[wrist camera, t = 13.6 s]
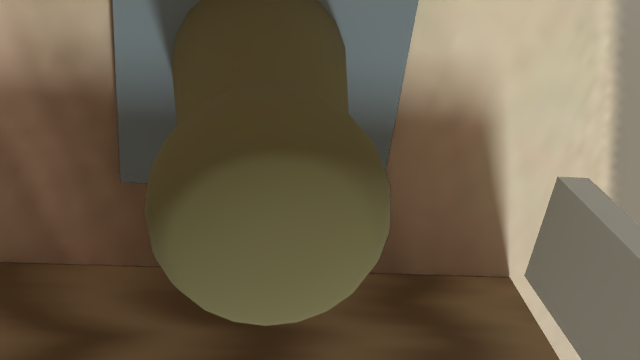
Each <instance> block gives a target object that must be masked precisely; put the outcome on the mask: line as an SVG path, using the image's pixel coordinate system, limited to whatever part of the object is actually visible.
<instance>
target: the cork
mask: <svg viewBox="0 0 640 360" xmlns="http://www.w3.org/2000/svg"><path fill="white" fill-rule="evenodd" d="M172 74H173V86H174V98H175V110H176V123H177V127H175V128H174V129H173V130H172V131H171V132H170V134H169V135H168V137H167V139H166V141H165V143H164V144H163V146H162V148H161V150H160V151H159V153H158V155H157V157H156V158H155V160H154V162H153V164H152V167H151V171H150V174H149V178H148V184H147V191H146V198H145V205H144V214H145V220H146V225H147V229H148V233H149V237H150V242H151V246H152V250H153V254H154V257H155V259H156V260H157V262H158V263H159V265H160V266H161V268H162V269H163V271H164V272H165V274H166V275H167V277H168V278H169V280H170V281H171V283H172V284H173V285H174V286H175V287H176V288H177V289H179V290H180V291H181V292H182V293H183V294H184V295H186V296H187V297H188V298H190V299H191V300H192V301H193V302H195V303H196V304H197V305H199V306H200V307H201V308H203V309H204V310H205V311H208V312H210V313H213V314H215V315H218V316H220V317H223V318H225V319H228V320H231V321H233V322H239V323H247V324H255V325H263V326H269V325H278V324H286V323H295V322H300V321H302V320H305V319H308V318H310V317H313V316H316V315H318V314H321V313H324V312H327V311H328V310H330V309H331V308H333V307H334V306H336V305H337V304H338V303H340V302H341V301H343V300H344V299H346V298H347V297H348V296H350V295H351V294H353V292H354V291H355V290H356V289H357V287H358V286H359V285H360V284H361V282H362V281H363V280H364V279H365V278H366V276H367V275H368V274H369V273H370V271H371V270H372V269H373V267H374V266H375V265H376V263H377V262H378V261H379V258H380V256H381V253H382V250H383V248H384V245H385V242H386V239H387V237H388V234H389V231H390V182H389V180H388V177H387V174H386V172H385V169H384V167H383V164H382V161H381V159H380V156H379V154H378V151H377V149H376V147H375V145H374V143H373V141H372V140H371V139H370V137H369V136H368V135H367V134H366V133H365V132H364V131H363V129H362V128H361V127H360V126H359V125H358V124H357V123H356V121H355V120H354V119H353V118H352V117H351V116H350V115H349V107H348V88H347V69H346V51H345V45H344V42H343V40H342V37H341V34H340V32H339V29H338V26H337V24H336V22H335V20H334V19H333V18H332V17H331V15H330V14H329V13H328V12H327V10H326V9H325V8H324V7H323V6H322V4H321V3H320V2H319V1H318V0H200V1H199V2H198V3H197V4H196V5H195V6H194V7H193V8H191V9H190V10H189V11H188V13H187V15H186V17H185V19H184V21H183V23H182V24H181V26H180V28H179V30H178V32H177V34H176V36H175V43H174V49H173V56H172Z"/></svg>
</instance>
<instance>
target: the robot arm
mask: <svg viewBox="0 0 640 360" xmlns="http://www.w3.org/2000/svg"><path fill="white" fill-rule="evenodd" d="M525 277H526V279H527V280H528V282H529V283H530V285H531V286H532V287H533V289H534V290H535V292H536V293H537V295H538V296H539V298H540V299H541V301H542V302H543V304H544V305H545V306H546V308H547V309H548V311H549V312H550V314H551V315H552V317H553V318H554V320H555V321H556V323H557V324H558V325H559V327H560V328H561V330H562V331H563V333H564V334H565V336H566V337H567V339H568V340H569V342H570V343H571V344H572V346H573V347H574V349H575V350H576V352H577V353H578V355H579V356H580V358H581V359H582V360H640V225H639V224H638V223H637V222H635V220H633V219H632V218H631V217H630V216H629V215H628V214H627V213H626V212H625V211H624V210H623V209H622V208H620V207H619V206H618V205H617V204H616V203H615V202H614V201H613V200H612V199H611V198H610V197H608V196H607V195H606V194H605V193H604V192H603V191H602V190H601V189H600V188H599V187H598V186H597V185H595V184H594V183H593V182H592V181H591V180H590V179H589V178H573V177H557V180H556V183H555V186H554V189H553V192H552V195H551V198H550V201H549V204H548V207H547V210H546V213H545V216H544V219H543V222H542V225H541V228H540V231H539V234H538V237H537V240H536V243H535V246H534V249H533V252H532V255H531V258H530V261H529V264H528V267H527V270H526V273H525Z"/></svg>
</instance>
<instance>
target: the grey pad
mask: <svg viewBox="0 0 640 360" xmlns="http://www.w3.org/2000/svg"><path fill="white" fill-rule="evenodd" d="M112 1H113V24H114V47H115V71H116V94H117V117H118V140H119V164H120V182H128V183H148V178H149V174H150V171H151V167H152V164H153V162H154V160H155V158H156V157H157V155H158V153H159V151H160V150H161V148H162V146H163V144H164V143H165V141H166V139H167V137H168V135H169V134H170V132H171V131H172V130H173V129H174V128H175V127H177V123H176V110H175V98H174V86H173V74H172V56H173V49H174V43H175V36H176V34H177V32H178V30H179V28H180V26H181V24H182V23H183V21H184V19H185V17H186V15H187V13H188V11H189V10H190V9H191V8H193V7H194V6H195V5H196V4H197V3H198V2H199V1H200V0H112ZM318 1H319V2H320V3H321V4H322V6H323V7H324V8H325V9H326V10H327V12H328V13H329V14H330V15H331V17H332V18H333V19H334V20H335V22H336V24H337V26H338V29H339V32H340V34H341V37H342V40H343V42H344V45H345V51H346V69H347V88H348V107H349V115H350V116H351V117H352V118H353V119H354V120H355V121H356V123H357V124H358V125H359V126H360V127H361V128H362V129H363V131H364V132H365V133H366V134H367V135H368V136H369V137H370V139H371V140H372V141H373V143H374V145H375V147H376V149H377V151H378V154H379V156H380V159H381V161H382V164H383V167H384V169H385V172H386V166H387V161H388V156H389V151H390V146H391V140H392V135H393V130H394V125H395V120H396V114H397V109H398V104H399V99H400V94H401V88H402V83H403V78H404V73H405V68H406V62H407V57H408V52H409V47H410V42H411V36H412V31H413V26H414V21H415V15H416V10H417V5H418V0H318Z"/></svg>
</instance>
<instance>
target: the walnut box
mask: <svg viewBox="0 0 640 360" xmlns="http://www.w3.org/2000/svg"><path fill="white" fill-rule="evenodd" d="M0 360H559V358H558V356H557V355H556V353H555V351H554V350H553V348H552V346H551V345H550V343H549V341H548V340H547V338H546V336H545V335H544V333H543V331H542V330H541V328H540V326H539V325H538V323H537V322H536V320H535V318H534V317H533V315H532V313H531V312H530V310H529V308H528V307H527V305H526V303H525V302H524V300H523V298H522V297H521V295H520V293H519V292H518V290H517V289H516V287H515V285H514V284H513V282H512V280H511V279H510V278H504V277H470V276H436V275H402V274H368V275H367V276H366V278H365V279H364V280H363V281H362V282H361V284H360V285H359V286H358V287H357V289H356V290H355V291H354V292H353V294H351V295H350V296H348V297H347V298H346V299H344V300H343V301H341V302H340V303H338V304H337V305H336V306H334V307H333V308H331V309H330V310H328V311H327V312H324V313H321V314H318V315H316V316H313V317H310V318H308V319H305V320H302V321H300V322H295V323H286V324H278V325H269V326H263V325H255V324H247V323H239V322H233V321H231V320H228V319H225V318H223V317H220V316H218V315H215V314H213V313H210V312H208V311H205V310H204V309H203V308H201V307H200V306H199V305H197V304H196V303H195V302H193V301H192V300H191V299H190V298H188V297H187V296H186V295H184V294H183V293H182V292H181V291H180V290H179V289H177V288H176V287H175V286H174V285H173V284H172V283H171V281H170V280H169V278H168V277H167V275H166V274H165V272H164V271H163V269H162V268H161V267H131V266H97V265H63V264H29V263H0Z"/></svg>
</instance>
